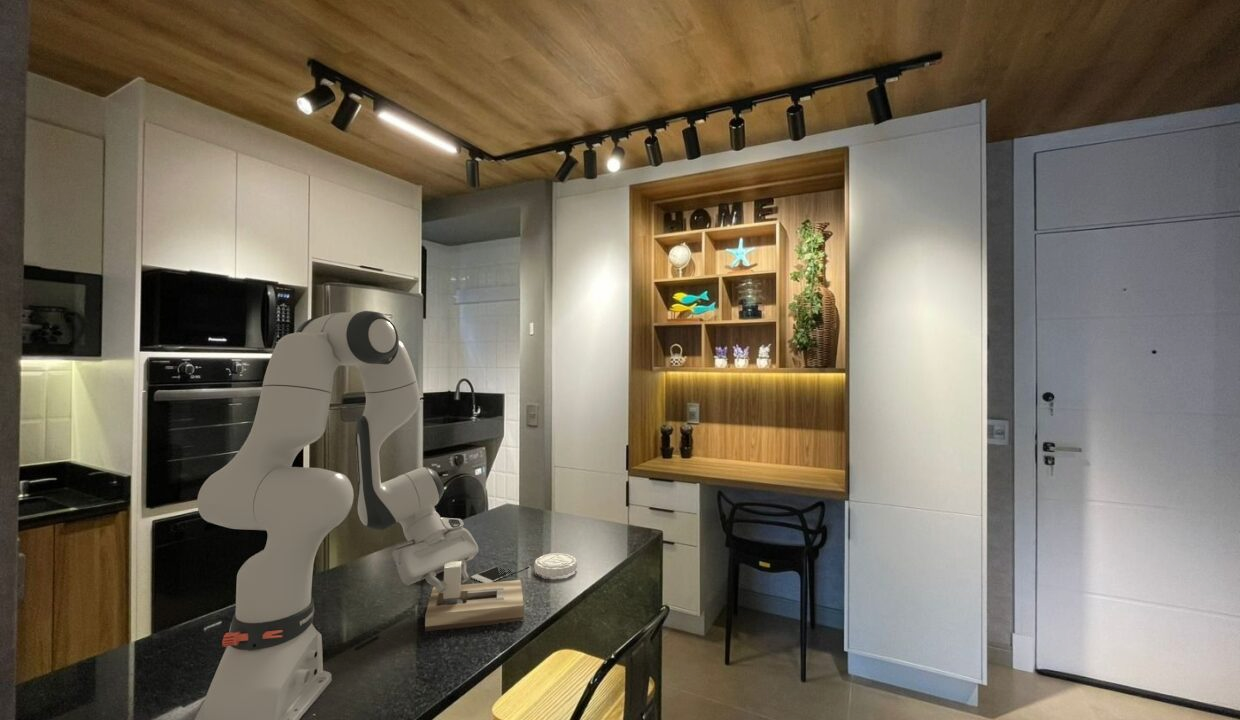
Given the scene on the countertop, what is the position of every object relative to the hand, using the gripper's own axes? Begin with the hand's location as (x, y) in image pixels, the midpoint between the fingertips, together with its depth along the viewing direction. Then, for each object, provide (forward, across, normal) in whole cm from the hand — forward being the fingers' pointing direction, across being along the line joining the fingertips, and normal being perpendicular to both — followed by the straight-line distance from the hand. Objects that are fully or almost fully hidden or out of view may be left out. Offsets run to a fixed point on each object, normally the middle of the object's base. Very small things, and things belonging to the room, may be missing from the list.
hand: (454, 585), depth 117 cm
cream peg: (+3, 0, +4) cm, 6 cm away
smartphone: (-1, +24, +11) cm, 26 cm away
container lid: (+8, +33, +2) cm, 34 cm away
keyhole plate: (+7, +4, +2) cm, 8 cm away
